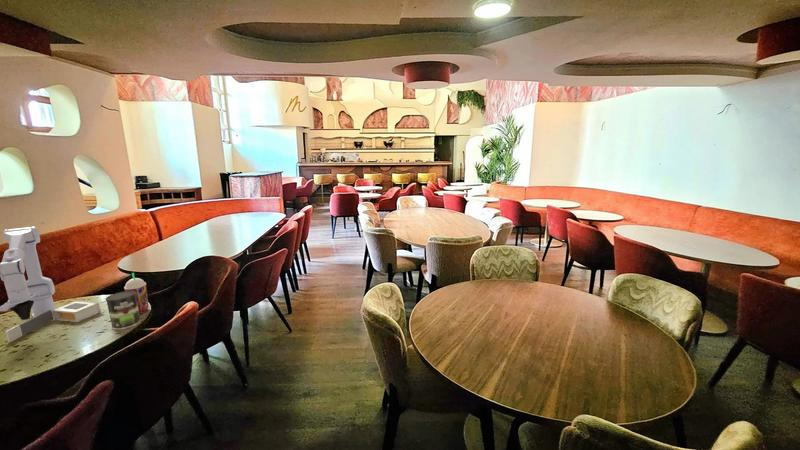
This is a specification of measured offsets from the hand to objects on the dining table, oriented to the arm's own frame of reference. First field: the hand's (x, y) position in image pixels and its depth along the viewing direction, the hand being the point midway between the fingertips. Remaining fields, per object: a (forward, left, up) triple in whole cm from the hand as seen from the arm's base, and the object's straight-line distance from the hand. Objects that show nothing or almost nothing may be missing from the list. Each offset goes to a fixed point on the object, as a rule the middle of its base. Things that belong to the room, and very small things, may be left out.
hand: (25, 319), depth 138 cm
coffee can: (+21, +27, -9) cm, 36 cm away
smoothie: (+11, +35, -9) cm, 38 cm away
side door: (-7, +1, -8) cm, 11 cm away
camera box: (-9, +17, -8) cm, 21 cm away
